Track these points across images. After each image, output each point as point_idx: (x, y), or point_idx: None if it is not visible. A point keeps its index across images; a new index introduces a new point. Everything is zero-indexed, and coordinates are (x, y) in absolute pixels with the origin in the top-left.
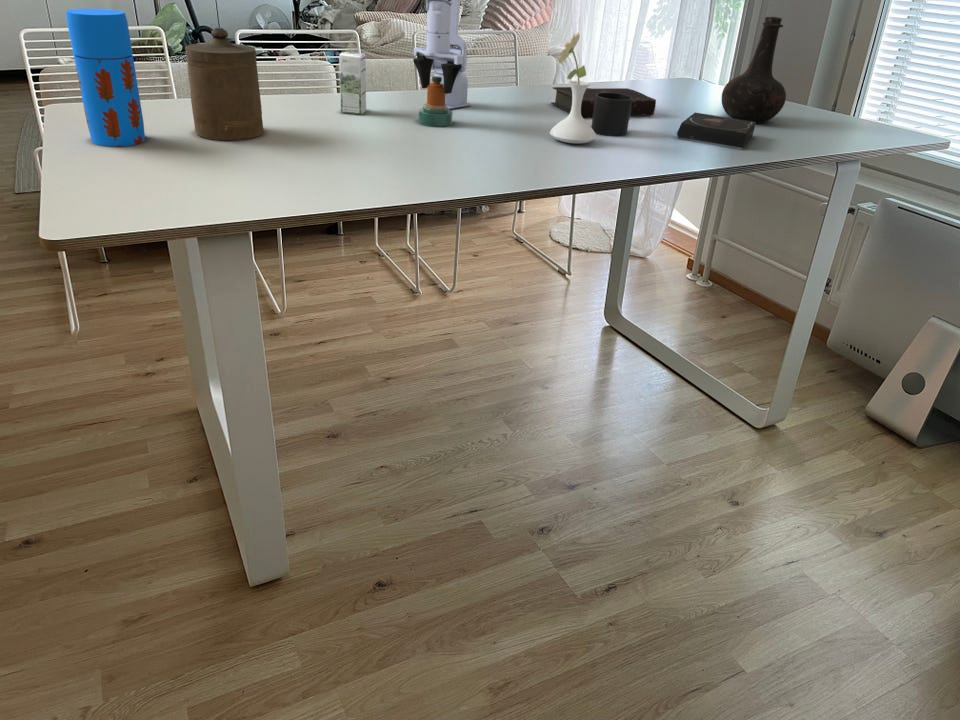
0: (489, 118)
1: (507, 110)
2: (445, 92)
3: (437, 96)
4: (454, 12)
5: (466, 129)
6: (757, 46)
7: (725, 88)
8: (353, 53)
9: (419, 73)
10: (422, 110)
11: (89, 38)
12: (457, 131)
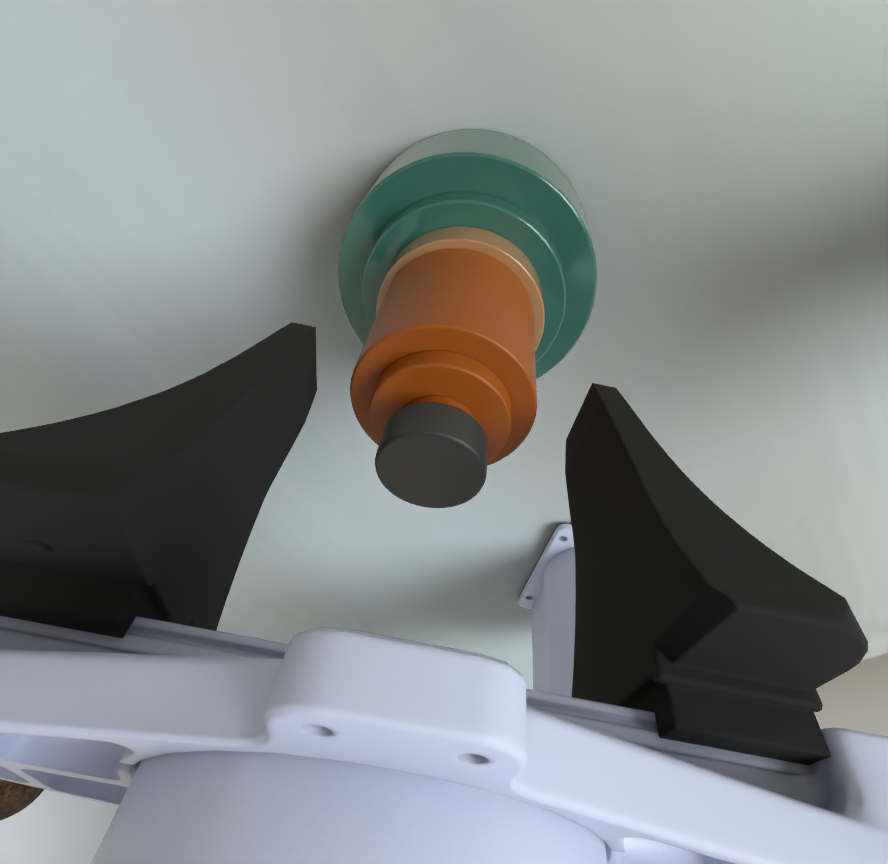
0: (336, 499)
1: (376, 607)
2: (293, 326)
3: (393, 300)
4: None
5: (232, 244)
6: None
7: (1, 781)
8: None
9: (673, 477)
10: (553, 233)
11: None
12: (218, 145)
